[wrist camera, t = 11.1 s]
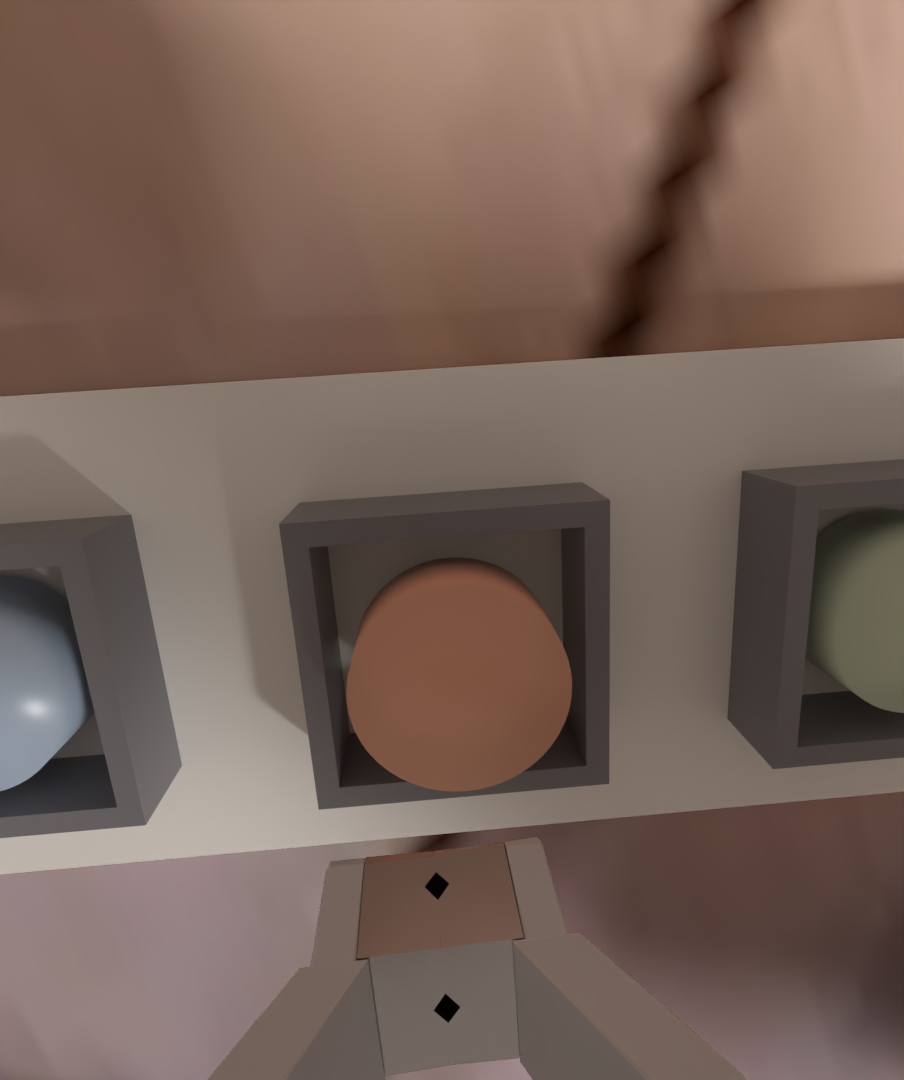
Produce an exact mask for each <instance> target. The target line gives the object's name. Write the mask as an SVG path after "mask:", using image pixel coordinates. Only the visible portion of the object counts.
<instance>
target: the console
mask: <svg viewBox="0 0 904 1080" xmlns="http://www.w3.org/2000/svg"><path fill="white" fill-rule="evenodd" d="M878 509H893V510H901V511H904V338H898V339H883V340H867V341H852V342H836V343H821V344H805V345H790V346H774V347H759V348H743V349H728V350H713V351H697V352H682V353H666V354H651V355H635V356H620V357H604V358H589V359H573V360H558V361H542V362H527V363H512V364H496V365H481V366H465V367H450V368H434V369H419V370H403V371H388V372H372V373H357V374H341V375H326V376H311V377H295V378H280V379H264V380H249V381H233V382H218V383H202V384H187V385H171V386H156V387H141V388H125V389H110V390H94V391H79V392H63V393H48V394H32V395H17V396H1V397H0V576H8V577H16V578H20V579H25V580H29V581H32V582H35V583H38V584H40V585H43V586H45V587H47V588H49V589H51V590H53V591H55V592H56V593H58V594H60V595H61V596H63V597H64V598H66V599H67V600H68V602H69V607H70V611H71V615H72V619H73V624H74V628H75V632H76V636H77V640H78V645H79V649H80V653H81V657H82V661H83V666H84V670H85V674H86V678H87V682H88V687H89V691H90V695H91V699H92V703H93V708H94V714H93V715H92V716H91V717H90V718H89V719H88V720H87V721H86V722H85V724H84V725H83V726H82V727H81V728H80V729H79V730H78V731H77V732H76V733H75V734H74V735H73V736H72V737H71V738H70V739H69V740H68V741H67V742H66V743H65V744H64V745H63V746H62V747H61V748H60V749H59V750H58V751H57V753H56V754H55V755H54V756H53V757H52V758H51V759H50V760H49V761H48V762H47V763H46V764H45V765H44V766H43V767H42V768H41V769H40V770H39V771H38V772H37V773H36V774H34V775H33V776H32V777H30V778H29V779H27V780H26V781H24V782H22V783H20V784H19V785H16V786H14V787H11V788H9V789H7V790H3V791H0V874H9V873H20V872H31V871H42V870H53V869H64V868H75V867H86V866H97V865H108V864H119V863H130V862H140V861H151V860H162V859H173V858H184V857H195V856H206V855H217V854H228V853H239V852H250V851H261V850H272V849H283V848H294V847H305V846H315V845H326V844H337V843H348V842H359V841H370V840H381V839H392V838H403V837H414V836H425V835H436V834H447V833H458V832H469V831H480V830H490V829H501V828H512V827H523V826H534V825H545V824H556V823H567V822H578V821H589V820H600V819H611V818H622V817H633V816H644V815H655V814H665V813H676V812H687V811H698V810H709V809H720V808H731V807H742V806H753V805H764V804H775V803H786V802H797V801H808V800H819V799H830V798H840V797H851V796H862V795H873V794H884V793H895V792H904V713H899V712H892V711H888V710H883V709H881V708H878V707H876V706H873V705H871V704H870V703H868V702H866V701H864V700H863V699H861V698H860V697H859V696H857V695H856V694H855V693H853V692H852V691H850V690H849V689H848V688H846V687H845V686H843V685H842V684H841V683H839V682H838V681H837V680H835V679H834V678H832V677H831V676H830V675H828V674H827V673H825V672H824V671H823V670H821V669H820V668H819V667H817V666H816V665H814V664H813V663H812V662H810V661H809V660H808V659H807V658H805V657H806V646H807V635H808V625H809V614H810V603H811V592H812V581H813V571H814V560H815V549H816V538H817V537H818V536H819V535H820V534H821V533H823V532H824V531H825V530H827V529H828V528H830V527H831V526H832V525H834V524H836V523H838V522H839V521H841V520H843V519H845V518H847V517H850V516H852V515H855V514H858V513H862V512H866V511H871V510H878ZM461 557H462V558H470V559H477V560H481V561H485V562H488V563H491V564H494V565H496V566H499V567H501V568H503V569H504V570H506V571H508V572H510V573H512V574H513V575H514V576H516V577H517V578H518V579H520V580H521V581H522V582H523V583H524V584H525V585H526V586H527V587H528V588H529V589H530V590H531V591H532V593H533V594H534V595H535V596H536V598H537V599H538V601H539V603H540V604H541V606H542V608H543V610H544V611H545V613H546V615H547V617H548V619H549V621H550V623H551V624H552V626H553V628H554V630H555V632H556V634H557V635H558V637H559V639H560V641H561V643H562V645H563V647H564V649H565V652H566V654H567V657H568V660H569V665H570V669H571V676H572V698H571V703H570V708H569V712H568V715H567V718H566V721H565V723H564V725H563V727H562V729H561V731H560V733H559V735H558V737H557V738H556V740H555V741H554V743H553V744H552V746H551V747H550V748H549V749H548V750H547V751H546V753H545V754H544V755H543V756H542V757H541V758H540V759H539V760H538V761H536V762H535V763H534V764H533V765H532V766H531V767H529V768H528V769H526V770H525V771H523V772H522V773H520V774H519V775H517V776H515V777H513V778H511V779H509V780H507V781H505V782H502V783H500V784H497V785H494V786H491V787H487V788H483V789H478V790H471V791H457V792H451V791H439V790H434V789H429V788H424V787H421V786H418V785H415V784H412V783H410V782H407V781H405V780H403V779H401V778H399V777H397V776H396V775H394V774H392V773H391V772H389V771H388V770H386V769H385V768H384V767H383V766H381V765H380V764H379V763H378V762H377V761H376V760H375V759H374V758H373V757H372V756H371V755H370V754H369V753H368V752H367V750H366V749H365V747H364V746H363V745H362V743H361V742H360V740H359V738H358V736H357V734H356V732H355V731H354V728H353V725H352V723H351V720H350V717H349V712H348V707H347V695H346V687H347V678H348V673H349V668H350V664H351V660H352V656H353V652H354V647H355V643H356V639H357V635H358V631H359V627H360V623H361V621H362V618H363V616H364V613H365V611H366V609H367V608H368V606H369V604H370V603H371V601H372V600H373V598H374V597H375V596H376V595H377V593H378V592H379V591H380V590H381V589H382V588H383V587H384V586H385V585H386V584H387V583H388V582H389V581H391V580H392V579H393V578H395V577H396V576H397V575H399V574H400V573H402V572H404V571H406V570H407V569H409V568H411V567H414V566H416V565H419V564H421V563H424V562H428V561H431V560H435V559H442V558H461Z"/></svg>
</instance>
